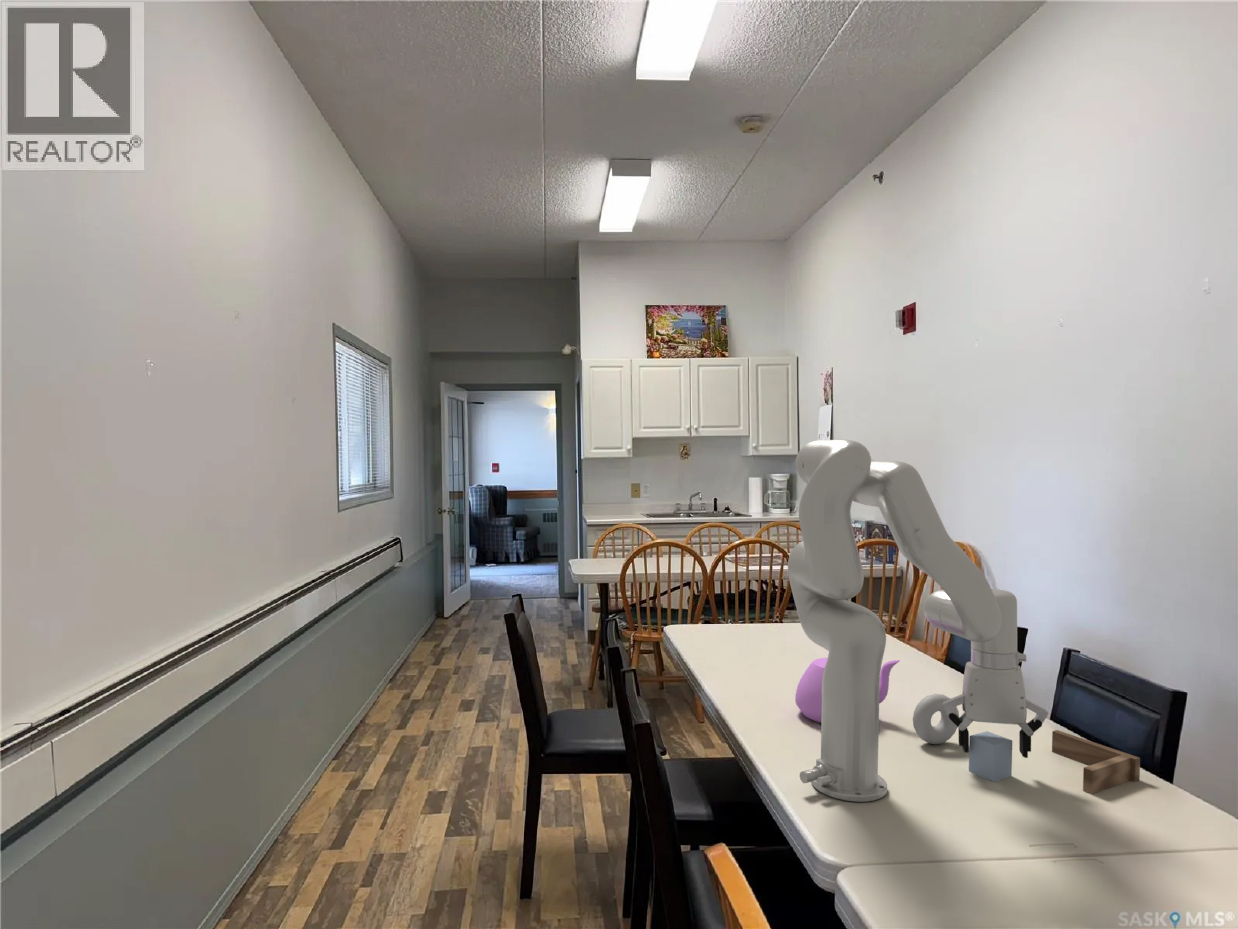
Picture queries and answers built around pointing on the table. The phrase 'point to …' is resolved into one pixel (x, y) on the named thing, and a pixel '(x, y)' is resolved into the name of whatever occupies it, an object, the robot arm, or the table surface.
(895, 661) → the teapot
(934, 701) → the donut
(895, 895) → the table surface
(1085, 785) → the corner stop
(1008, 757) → the block
